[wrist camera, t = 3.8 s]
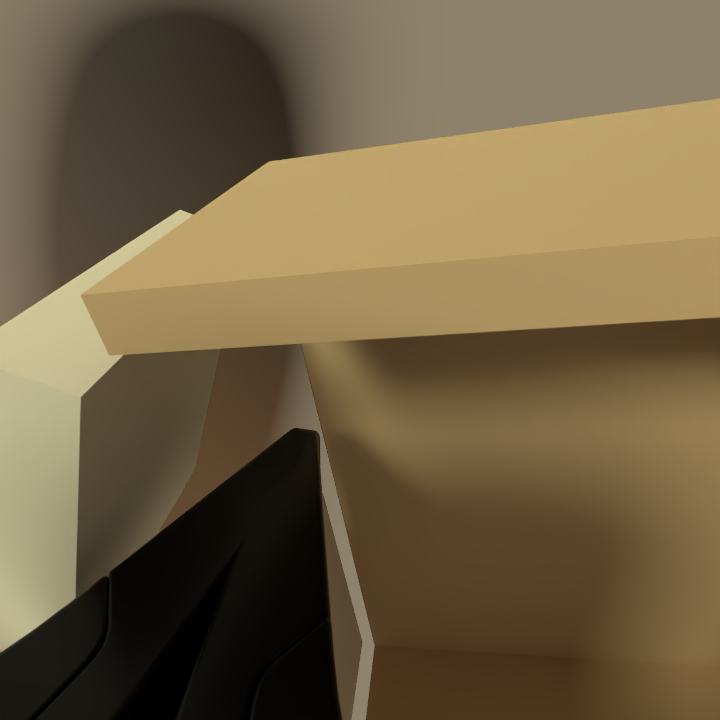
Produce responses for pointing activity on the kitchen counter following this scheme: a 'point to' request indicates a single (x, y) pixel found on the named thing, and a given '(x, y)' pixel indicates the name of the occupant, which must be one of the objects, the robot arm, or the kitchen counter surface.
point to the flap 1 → (87, 446)
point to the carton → (492, 397)
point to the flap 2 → (342, 624)
